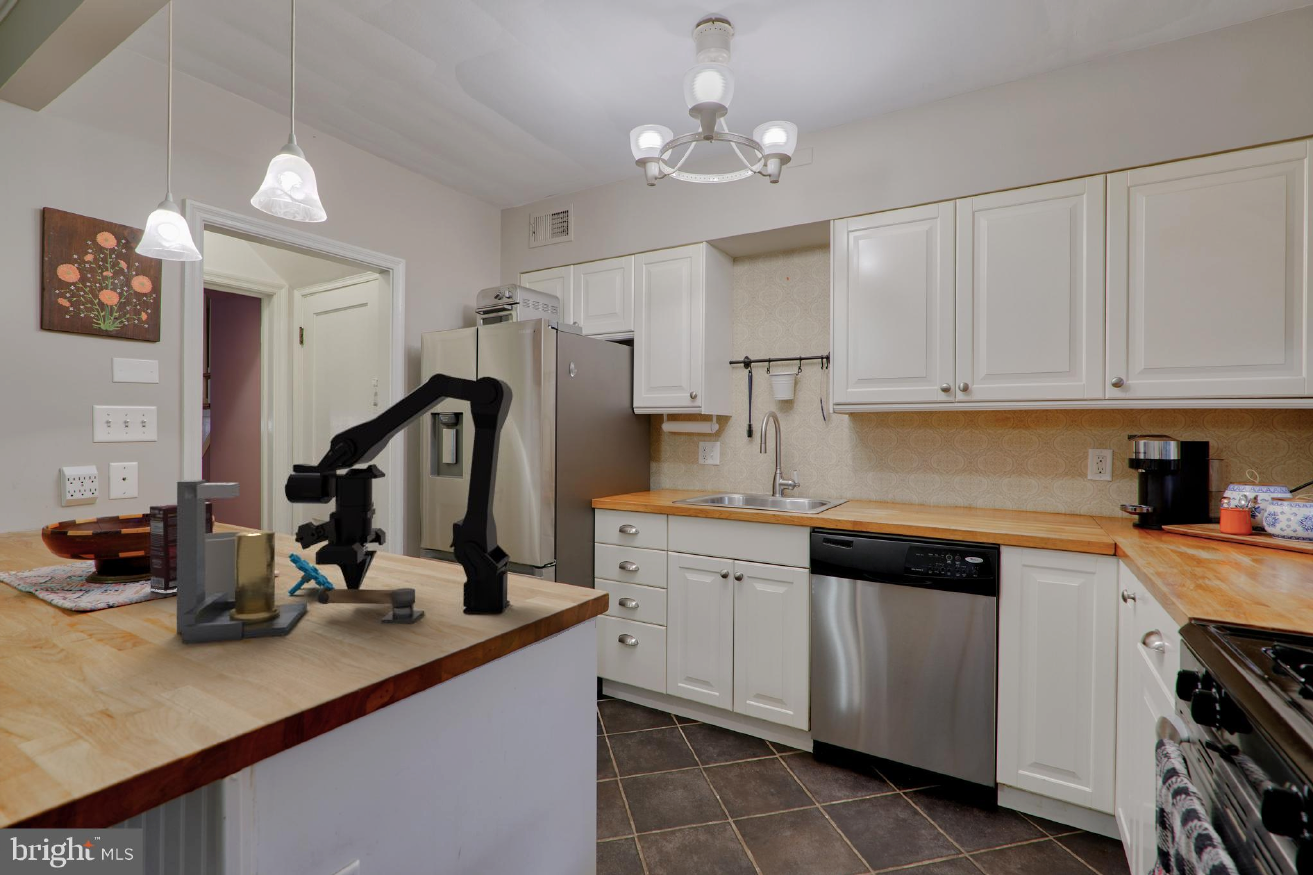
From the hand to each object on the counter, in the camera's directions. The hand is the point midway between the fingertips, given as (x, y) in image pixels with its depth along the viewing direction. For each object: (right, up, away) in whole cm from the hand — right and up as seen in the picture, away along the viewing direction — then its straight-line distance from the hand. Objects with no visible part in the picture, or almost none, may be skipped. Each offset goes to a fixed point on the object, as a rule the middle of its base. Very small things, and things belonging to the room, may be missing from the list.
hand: (353, 595), depth 107 cm
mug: (-25, -2, +6) cm, 26 cm away
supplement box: (-37, -1, +10) cm, 38 cm away
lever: (+5, 0, -6) cm, 8 cm away
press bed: (-12, -2, -11) cm, 16 cm away
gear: (-12, -2, +9) cm, 15 cm away
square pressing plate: (+11, -2, -6) cm, 13 cm away
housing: (-10, -1, -10) cm, 14 cm away
